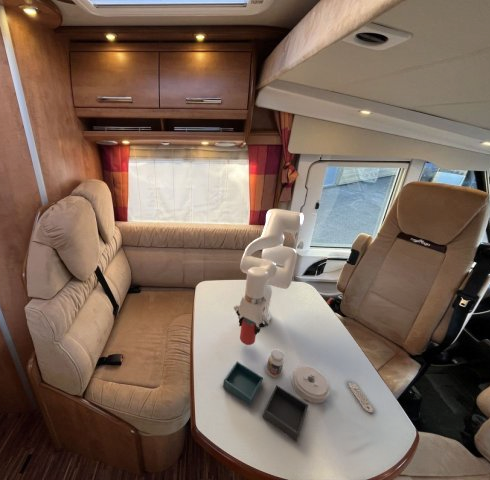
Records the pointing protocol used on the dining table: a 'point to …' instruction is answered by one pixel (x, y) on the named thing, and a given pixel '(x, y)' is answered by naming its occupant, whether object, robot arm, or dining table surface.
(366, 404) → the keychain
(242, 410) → the dining table surface
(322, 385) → the lid
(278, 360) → the pill bottle
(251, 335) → the beer can
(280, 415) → the can bin
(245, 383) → the pill bin
